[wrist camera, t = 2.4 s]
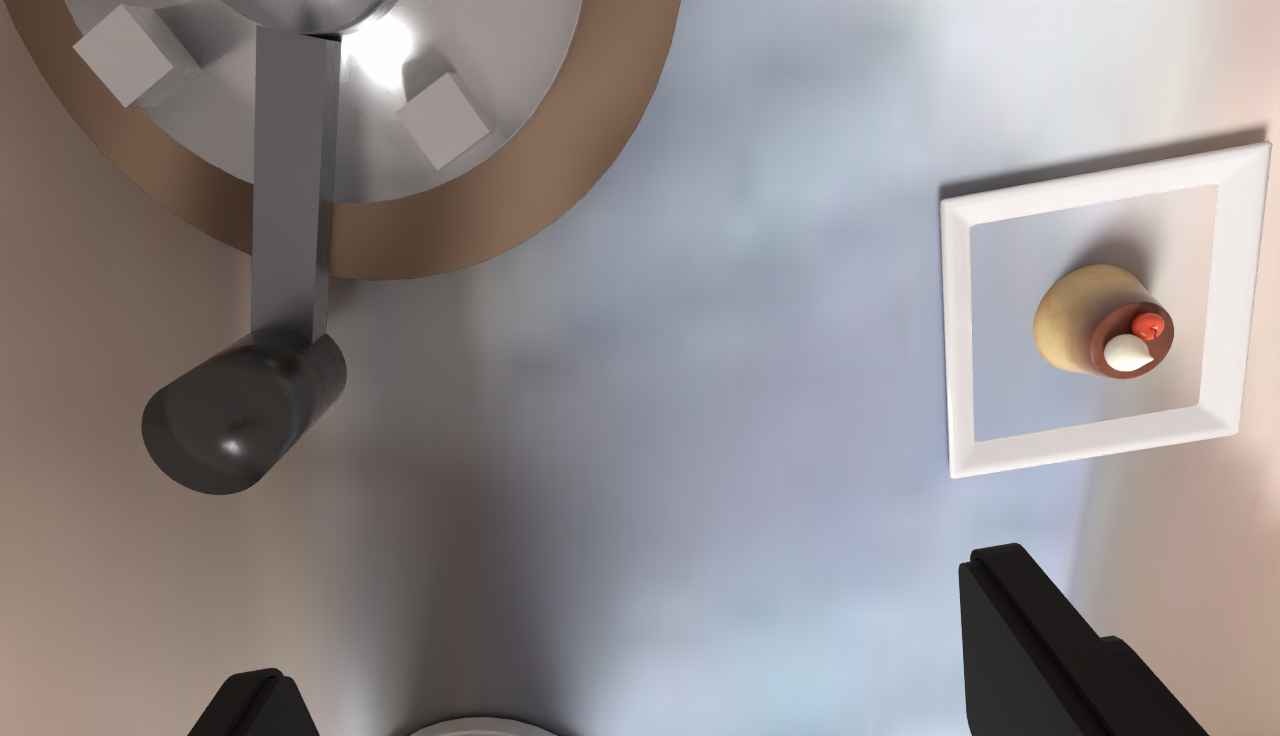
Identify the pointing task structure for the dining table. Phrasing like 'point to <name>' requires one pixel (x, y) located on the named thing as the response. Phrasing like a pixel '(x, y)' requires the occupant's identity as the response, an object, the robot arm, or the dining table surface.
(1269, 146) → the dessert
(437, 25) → the crank handle
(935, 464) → the dining table surface
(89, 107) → the base
